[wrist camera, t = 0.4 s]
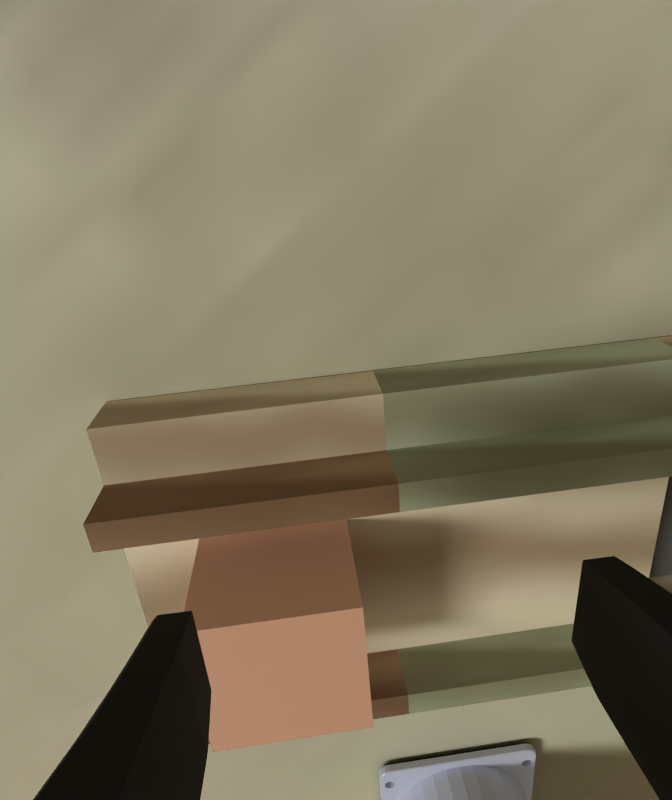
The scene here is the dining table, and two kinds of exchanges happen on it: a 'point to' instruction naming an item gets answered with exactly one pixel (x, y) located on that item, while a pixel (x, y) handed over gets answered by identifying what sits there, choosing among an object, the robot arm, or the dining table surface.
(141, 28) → the dining table surface
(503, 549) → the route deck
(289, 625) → the block terracotta
